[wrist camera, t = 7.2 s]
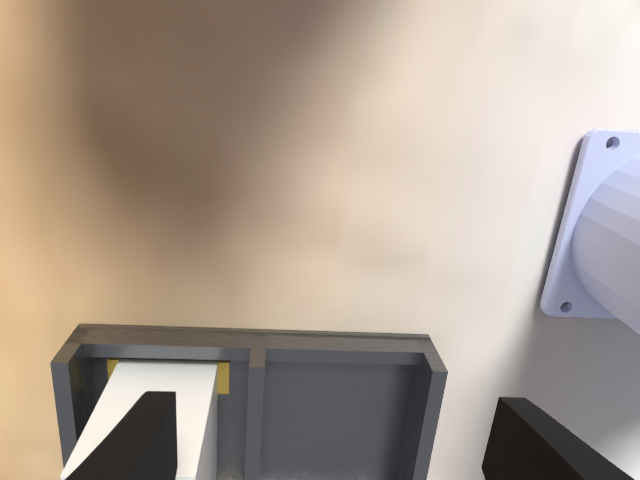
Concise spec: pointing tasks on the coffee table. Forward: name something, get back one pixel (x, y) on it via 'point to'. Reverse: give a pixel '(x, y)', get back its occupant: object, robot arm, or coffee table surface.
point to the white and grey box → (191, 411)
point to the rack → (280, 396)
